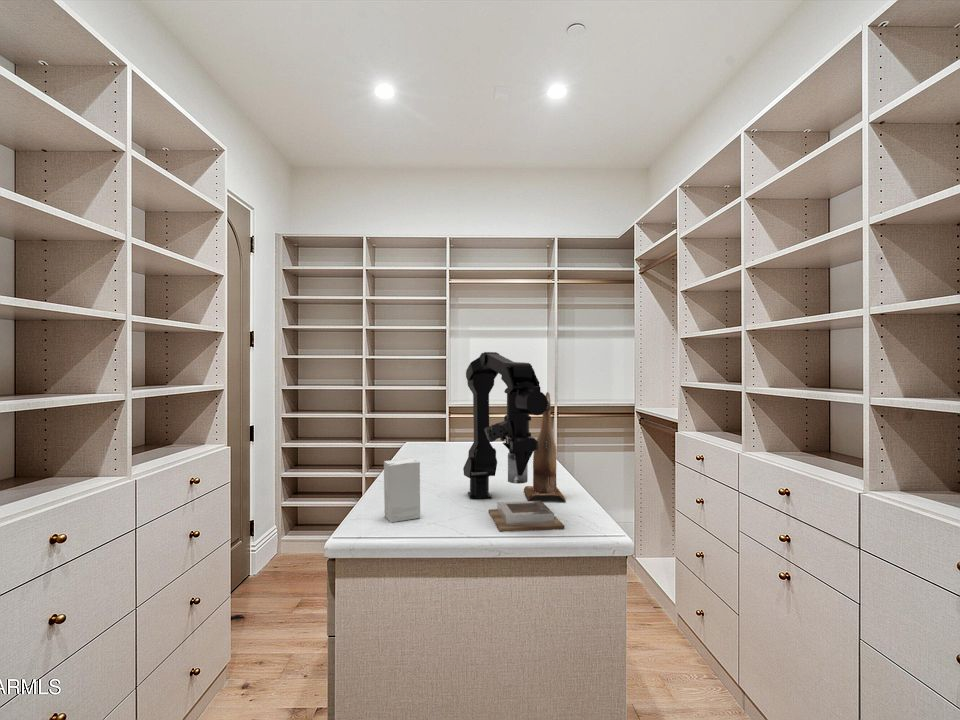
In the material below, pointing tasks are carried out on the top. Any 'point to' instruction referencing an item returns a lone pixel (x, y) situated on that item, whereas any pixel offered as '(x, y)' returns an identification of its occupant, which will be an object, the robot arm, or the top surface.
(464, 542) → the top surface
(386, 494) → the skincare box
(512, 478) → the cylinder
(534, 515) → the grey square tray
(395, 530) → the top surface
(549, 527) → the walnut board
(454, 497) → the top surface
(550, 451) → the bird sculpture
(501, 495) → the top surface
